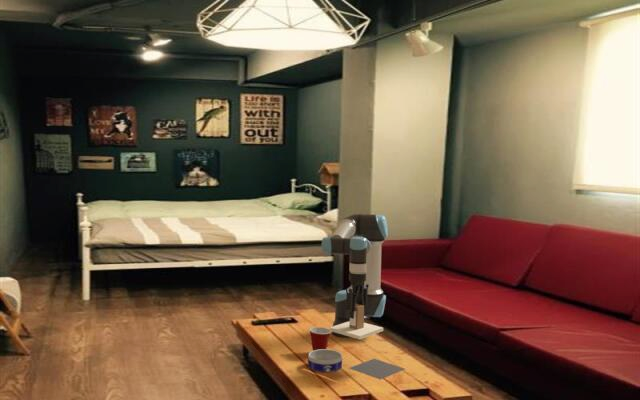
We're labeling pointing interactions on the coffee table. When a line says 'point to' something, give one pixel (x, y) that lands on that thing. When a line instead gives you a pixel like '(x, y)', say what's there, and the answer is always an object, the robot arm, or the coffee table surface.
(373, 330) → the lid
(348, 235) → the robot arm
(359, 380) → the coffee table surface
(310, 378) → the coffee table surface
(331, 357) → the dog bowl
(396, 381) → the coffee table surface
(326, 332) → the plastic cup
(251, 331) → the coffee table surface
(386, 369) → the mat
